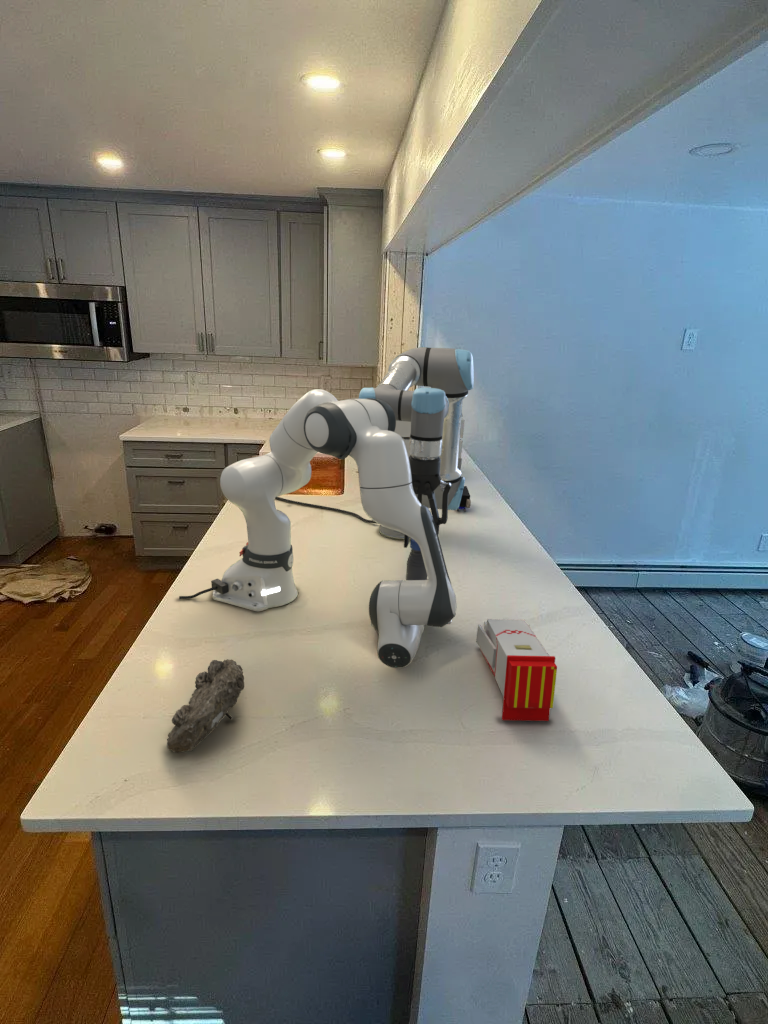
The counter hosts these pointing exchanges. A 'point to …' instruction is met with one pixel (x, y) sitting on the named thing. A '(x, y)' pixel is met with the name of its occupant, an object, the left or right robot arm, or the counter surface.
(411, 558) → the bottle
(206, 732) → the fossil
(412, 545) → the cap
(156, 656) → the counter surface
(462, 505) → the figurine character
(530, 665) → the toy
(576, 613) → the counter surface
